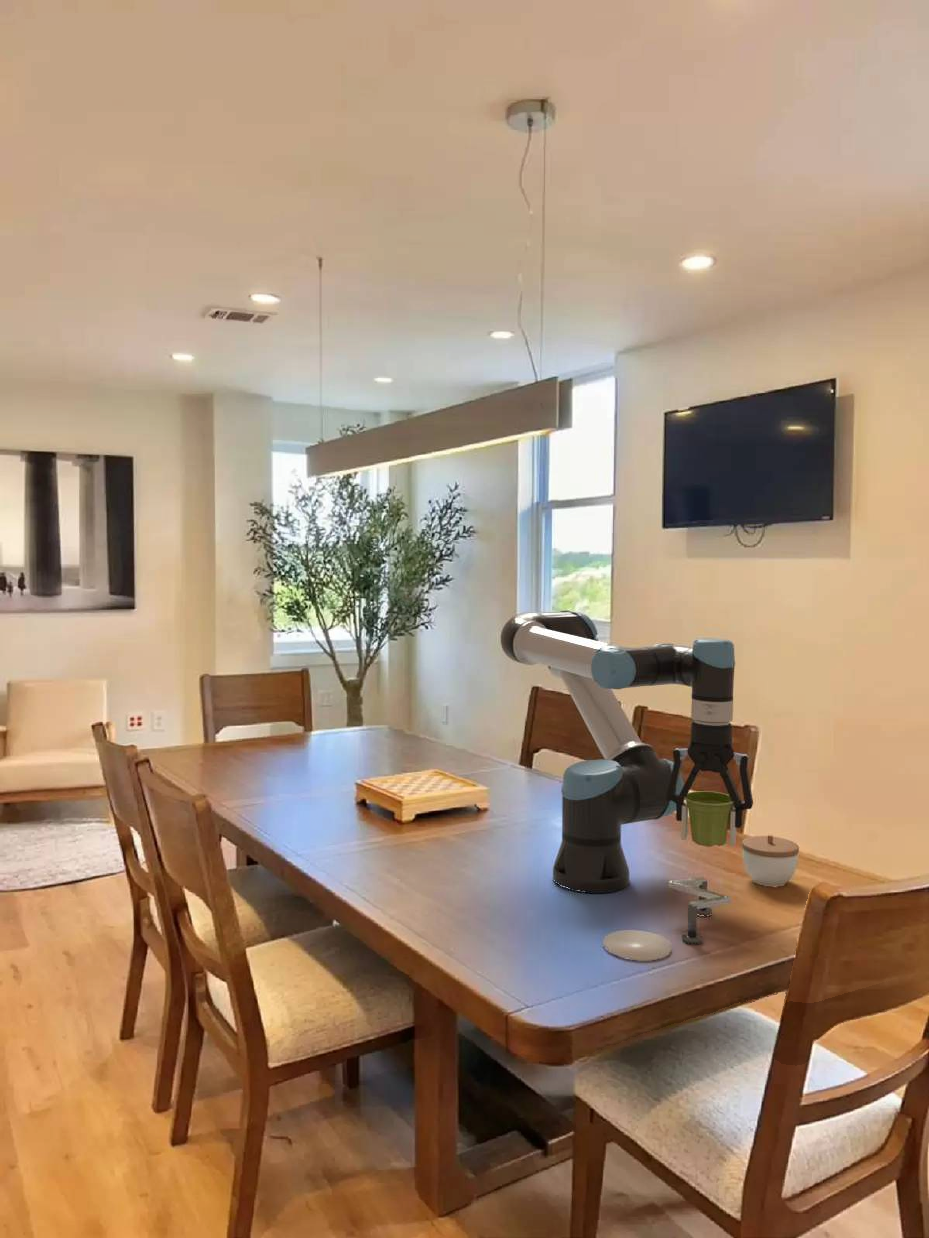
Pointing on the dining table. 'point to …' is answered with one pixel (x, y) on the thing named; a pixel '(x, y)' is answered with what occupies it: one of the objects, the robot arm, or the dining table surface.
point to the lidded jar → (770, 859)
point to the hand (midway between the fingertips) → (708, 840)
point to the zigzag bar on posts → (697, 904)
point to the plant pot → (709, 817)
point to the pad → (637, 945)
